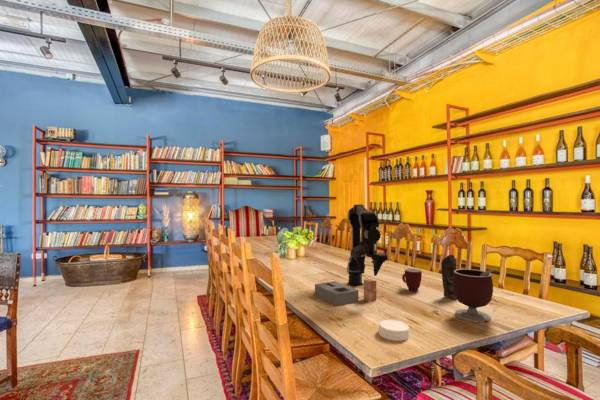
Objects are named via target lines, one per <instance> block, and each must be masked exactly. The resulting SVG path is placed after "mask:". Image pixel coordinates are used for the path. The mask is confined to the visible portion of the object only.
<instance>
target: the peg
mask: <svg viewBox="0 0 600 400" xmlns="http://www.w3.org/2000/svg"><path fill="white" fill-rule="evenodd" d="M363 284H364V285H363V300H365V301H367V302H369V303H370V302H371V303H372V302H375V301H377V280H376V279H373V278H367V279H363Z"/></svg>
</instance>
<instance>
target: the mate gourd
mask: <svg viewBox="0 0 600 400" xmlns="http://www.w3.org/2000/svg"><path fill="white" fill-rule="evenodd" d="M493 272H496V269H495V268H494V269H489V270H486V271H485V270H484V271H483V270H479V269H471V268H469V269H468V268H459V269H457V268H456V270H454V274H453V292H454V295H455V297H456V298H457V299H456V300H457V301H458V302H459V303H460V304H463V305H465V306H466V307H468V308H460V309H456V310H455V311H454V315H455V316H456V317H457V318H458V319H461V318H462V319H461V320H463V319H465V320H464V321H467V320H469V321H468V322H471V321H477V322H476V323H486V322H485V321H489V320H490V321H491V320H492V317H491V316H490V315H489V314H488V313H486V312H483V311H481V310H478V308H482V307H486V306H487V305H488V304H489V303H490V302H491V301H492V298H493V294H494V281H493V277H492V273H493ZM490 321H489V322H490Z"/></svg>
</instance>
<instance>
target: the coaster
mask: <svg viewBox="0 0 600 400" xmlns="http://www.w3.org/2000/svg"><path fill="white" fill-rule="evenodd" d="M378 334H379V336H380V337H381V338H383V339H385V340H389V341H393V342H394V341H395V342H403V341H406V340H408V339H409V337H410V326H409V325H408V324H407V323H406V322H403V321H400V320H397V319H384V320H382V321H380V322H379V323H378Z"/></svg>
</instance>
